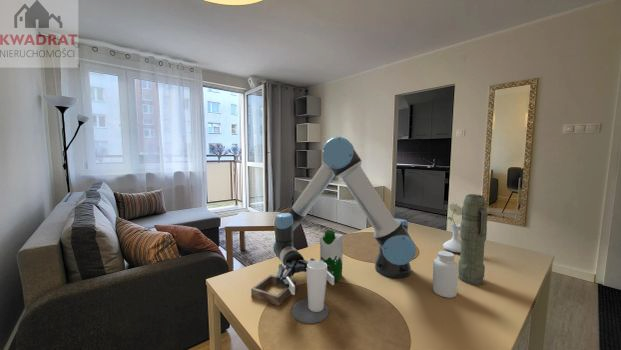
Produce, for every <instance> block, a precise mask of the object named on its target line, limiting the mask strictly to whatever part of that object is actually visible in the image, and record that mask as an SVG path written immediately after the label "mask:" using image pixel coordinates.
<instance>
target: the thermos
mask: <svg viewBox="0 0 621 350" xmlns="http://www.w3.org/2000/svg"><path fill="white" fill-rule="evenodd" d="M462 203H463V204H462V205H463V206H462V207H461V208H462V215H461V222H460V225H461V227H460V228H459V236H460V240H461V253H460V256H459V257H460V258H459V260H458V263H457V265H458V274H457V279H459V280H460V281H462V282H463V283H465V284H468V285H472V286H482V285H483V284H484V278H485V268H486V267H485V263H484V260H485V259H484V258H485V257H484V255H485V242H486V240H487V235H488V234H487V231H488V227H487V225H488V224H487V223H488V214H489V213H488V211H487V201H486V199H485V196H483V195H481V194H473V193H472V194H471V193H469V194H467V195H466V196H465V198H464V200H463V202H462Z"/></svg>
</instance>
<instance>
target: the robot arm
mask: <svg viewBox="0 0 621 350" xmlns="http://www.w3.org/2000/svg"><path fill="white" fill-rule="evenodd" d="M321 156H322V161H321V162H322V165H321V166H320V167H319V169H318V170H317V171H316V173H315V174H314V175H313V177H312V179H311V180H310V181H309V183H307V186H305V188H304V189H303V191H302V192H301V193H300V195H299V196H298V198H297V200H295V202H294V203H293V205H292V207H290V209H289V210H288V211H287V212H281V213H278V214H276V215H275V217H274V225H275V226H274V233H275V236H274V237H275V239H274V240H275V241H274V243H273V247H272V249H273V252H274V254H275V256H276V257H277V258H278V259H279V260H280V261H281V263H279V265H278V270H277V274H276V275H275V276H276V284H275V285H276V286H280V285H279V284H280V283H282V286H281V287H283V288H284V289H285V288H288V289H289V290H290V292H291V295H292V296H295V295H296V289H295V286H294V284H293V283H292V281H291V280H292V279H290V278H291V277H293V276H294V275H295V274H297V273H303V272H304V273H307V264H308V262H310V261H315V260H316V259H314V258H313V257H312V258H310V260H308V261H307V260H305V258H304V256H303V255H302V254H301V253H300V252H299V251H298V250H297V249H296V248H295V247H294V231H295V230H296V228H297V227H299V226H300V225H301V223H302V221H303V220H304V218H305V217H306V215H307V214H308V213H309V212H310V210H311V208H313V206H314V205H315V204H316V202H317V201H318V200H319V198H320V196H321V195H322V194H323V193H324V191H325V190H326V189H327V187H328V186H329V184H330V183H331V181H333V179H334V178H335V177H336V178H340V179H342V181H343V182H344V184H345V186H346V187H347V189H348V191H349V192H350V193H351V195H352V197H353V198H354V200H355V201H356V203H357V205H358V206H359V208H360V209H361V211H362V213H363V214H364V216H365V217H366V219H367V221H368V222H369V224H370V225H371V227H372V228H373V230H374V232H373V237H374V239H375V240H376V242H377V243H378V245H379V250H378V255H377V256H376V260H375V262H374V268H375V270H376V272H377V273H379V274H380V275H382V276H384V277H388V278H392V279H393V278H394V279H401V278H402V279H403V278H408V277H409V276H410V275H411V273H412V267H411V263H410V262H411V261H412V260H413V259H414V258H415V256H416V253H417V251H416V250H417V249H416V244H415V241H414V240H413V239H412V236H411V235H410V233H409V231H408V230H409V222H408V220H406V219H402V218H394V217H393V215H392V214H391V212H390V211H389V209H388V207H387V206H386V204H385V202H384V200H383V199H382V198H381V196H380V195H379V193H378V191H377V190H376V188H375V186H373V184H372V182H371V181H370V179H369V177H368V176H367V174H366V173H365V171H364V169H363V168H362V159H361V157H360V156H359V154H358V153H357V152H356V150H355V148H354V145H353V143H351V142H350V140H349V139H347V138H345V137H342V136H335V137H332V138H330V139H329V140H327V141H326V142H325V144H324V145H323V147H322V152H321ZM327 282H328V284H330V285H332V286H335V283H334V276H333V275H332V273H331V266H330V265H327Z"/></svg>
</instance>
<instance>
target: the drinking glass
mask: <svg viewBox="0 0 621 350" xmlns="http://www.w3.org/2000/svg"><path fill="white" fill-rule="evenodd" d="M314 260H315V261H310V260H309V261H310V262H308V264H307V268H306V269H307V272H306V289H307V299H308V308H309V309H310V310H311V311H313V312H320V311H322V310H323V308H324V303H325V299H326V298H325V296H326V288H327V282H328V281H327V264H326V263H325V262H323V261H320V260H316V259H314Z"/></svg>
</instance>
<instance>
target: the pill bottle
mask: <svg viewBox="0 0 621 350" xmlns="http://www.w3.org/2000/svg"><path fill="white" fill-rule="evenodd" d="M432 270H433V271H432V291H433V293H435V294H436V295H438V296H439V297H444V298H449V299H450V298H451V299H452V298H454V297H457V295H458V294H457V293H458V275H459V272H458V263H457V262H456V261H455V254H454V252H452V251H449V250H447V251H446V250H439V251H438V252H437V258H435V259H434V260H433V267H432Z"/></svg>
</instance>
